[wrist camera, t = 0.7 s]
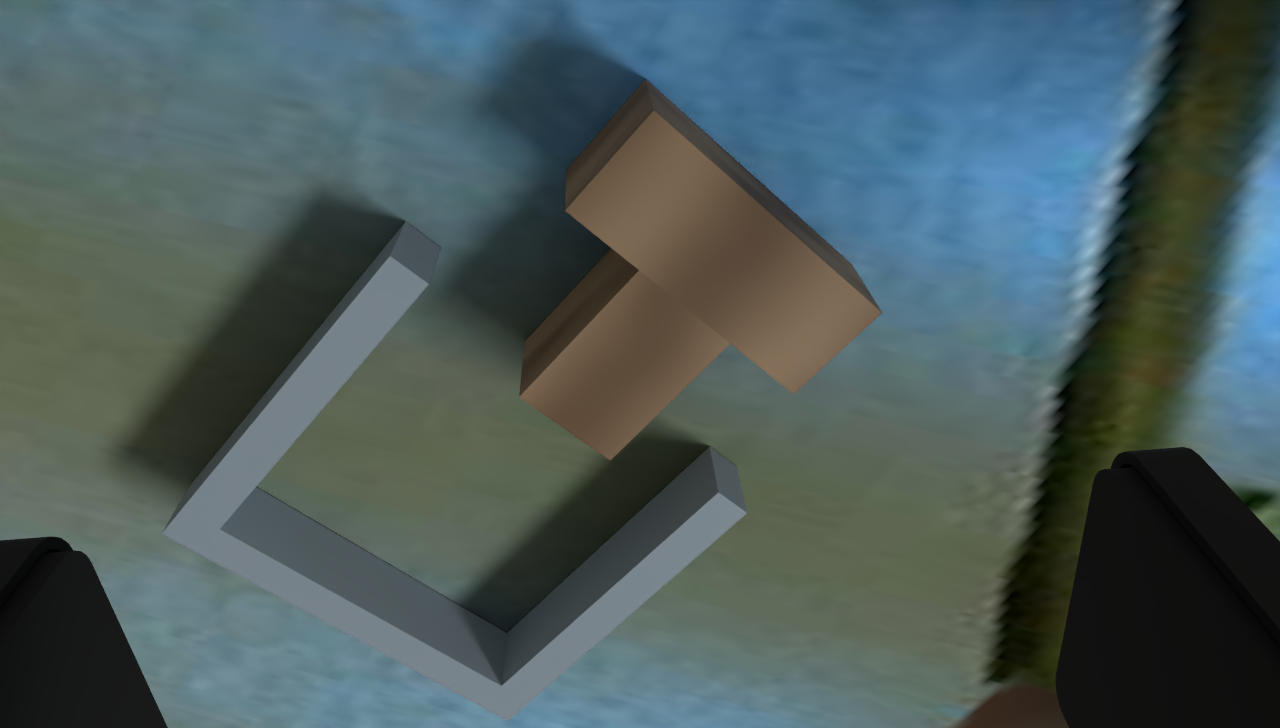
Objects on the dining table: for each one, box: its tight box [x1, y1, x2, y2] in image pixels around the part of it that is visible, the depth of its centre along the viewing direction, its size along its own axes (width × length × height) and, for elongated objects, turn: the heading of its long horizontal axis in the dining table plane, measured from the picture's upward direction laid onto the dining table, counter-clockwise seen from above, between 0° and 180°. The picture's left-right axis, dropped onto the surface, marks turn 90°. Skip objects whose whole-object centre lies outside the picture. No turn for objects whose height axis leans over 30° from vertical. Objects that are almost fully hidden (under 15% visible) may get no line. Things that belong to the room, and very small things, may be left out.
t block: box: [519, 79, 882, 460], centre depth 33 cm, size 10×10×4 cm
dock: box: [162, 221, 747, 721], centre depth 37 cm, size 16×14×3 cm
